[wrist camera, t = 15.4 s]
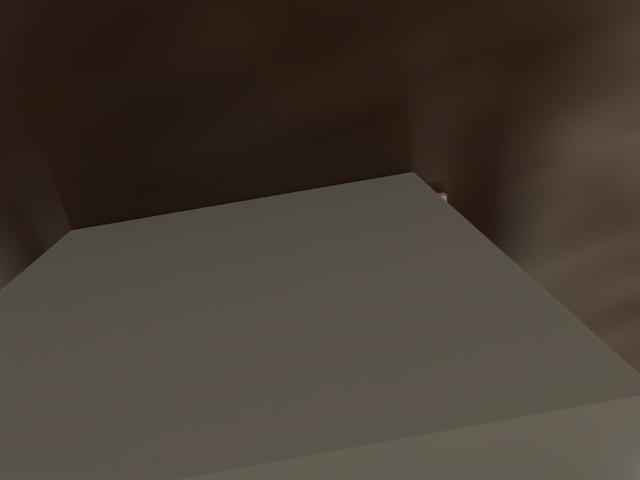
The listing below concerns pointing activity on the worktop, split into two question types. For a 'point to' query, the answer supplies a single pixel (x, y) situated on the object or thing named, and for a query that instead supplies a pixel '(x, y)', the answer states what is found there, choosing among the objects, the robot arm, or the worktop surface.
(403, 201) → the pale sage box
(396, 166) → the worktop surface
